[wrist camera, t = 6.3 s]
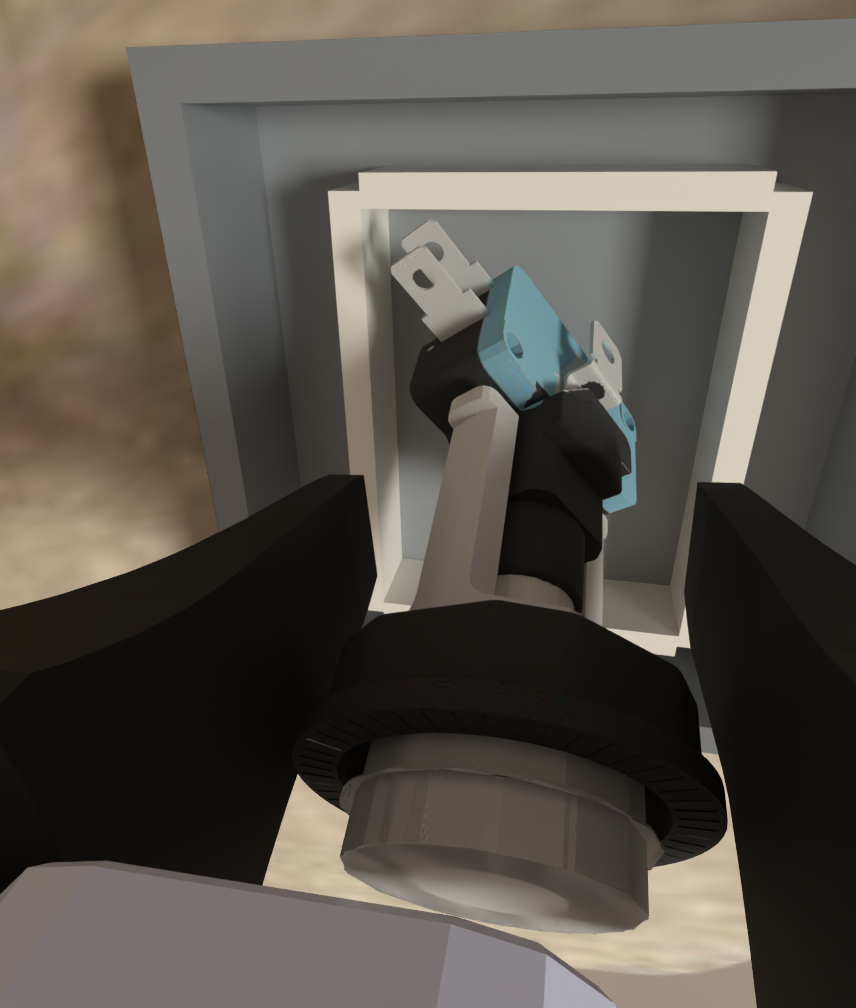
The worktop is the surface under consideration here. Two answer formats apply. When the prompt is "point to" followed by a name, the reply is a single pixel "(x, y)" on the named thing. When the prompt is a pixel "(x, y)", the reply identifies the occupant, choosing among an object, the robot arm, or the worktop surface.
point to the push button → (512, 645)
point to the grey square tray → (510, 247)
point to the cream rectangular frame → (718, 187)
